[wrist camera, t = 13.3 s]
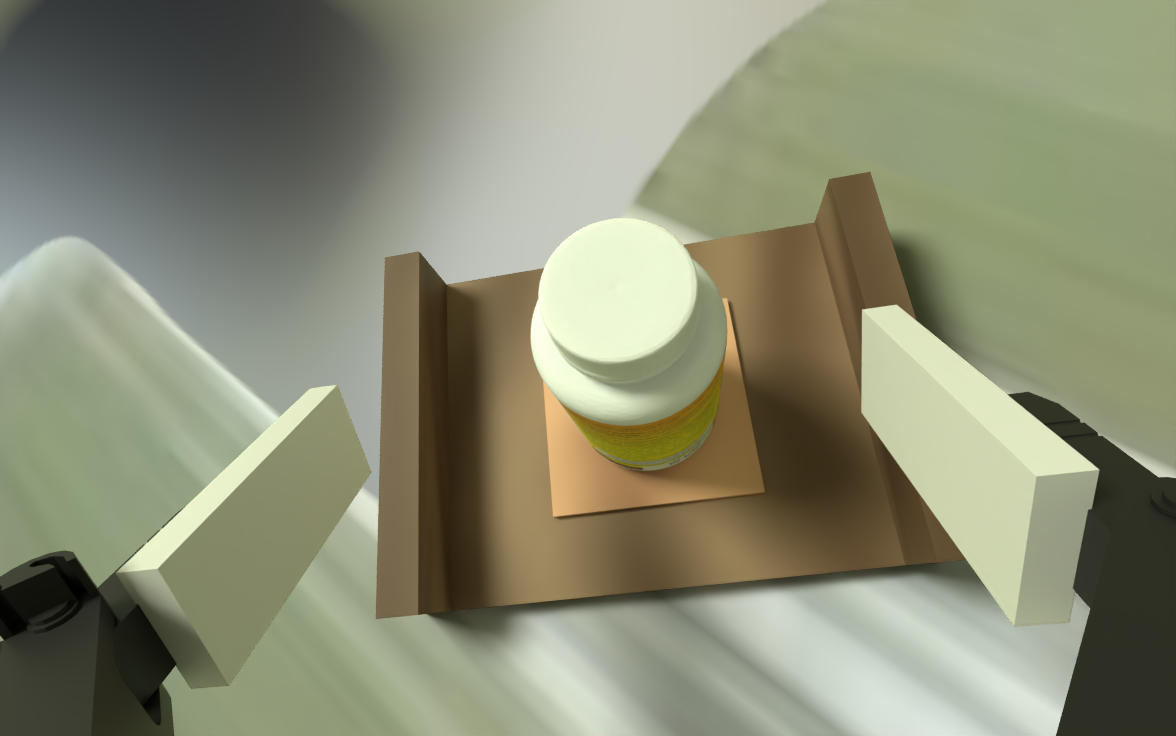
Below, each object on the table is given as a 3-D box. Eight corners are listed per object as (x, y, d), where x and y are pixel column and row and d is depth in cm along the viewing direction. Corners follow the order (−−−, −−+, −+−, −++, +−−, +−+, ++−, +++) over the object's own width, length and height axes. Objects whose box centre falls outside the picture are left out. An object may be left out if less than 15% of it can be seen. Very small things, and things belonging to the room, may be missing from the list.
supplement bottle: (746, 427, 23) (783, 319, 14) (620, 500, 23) (569, 442, 13) (670, 315, 25) (656, 153, 16) (554, 381, 25) (469, 258, 16)
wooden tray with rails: (845, 229, 27) (870, 171, 23) (939, 561, 22) (991, 557, 18) (424, 299, 29) (385, 257, 25) (425, 613, 24) (376, 618, 20)
